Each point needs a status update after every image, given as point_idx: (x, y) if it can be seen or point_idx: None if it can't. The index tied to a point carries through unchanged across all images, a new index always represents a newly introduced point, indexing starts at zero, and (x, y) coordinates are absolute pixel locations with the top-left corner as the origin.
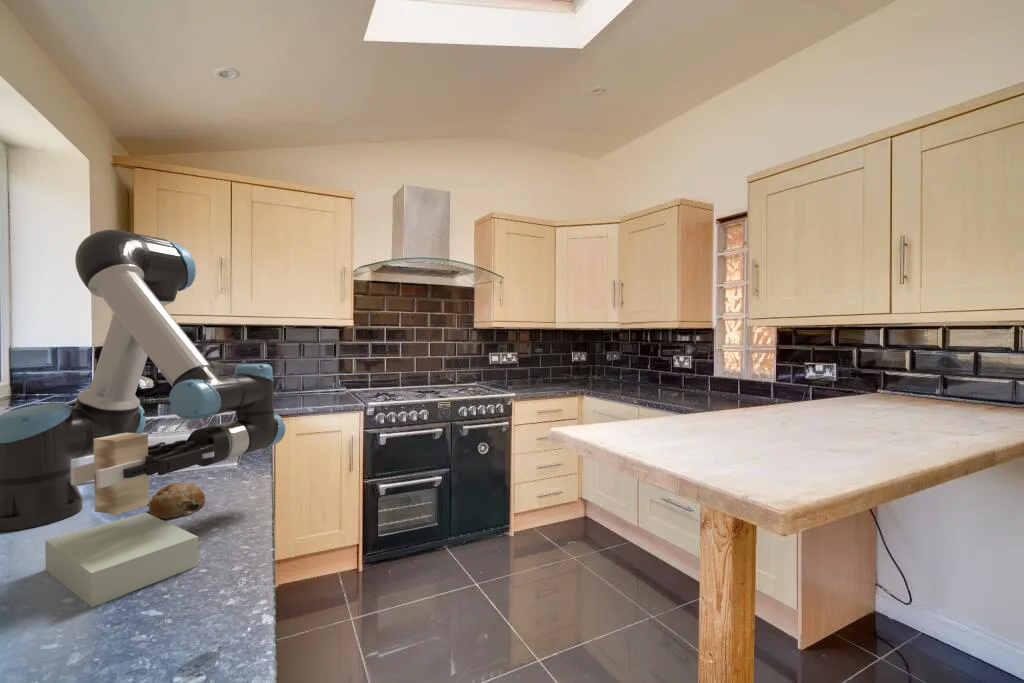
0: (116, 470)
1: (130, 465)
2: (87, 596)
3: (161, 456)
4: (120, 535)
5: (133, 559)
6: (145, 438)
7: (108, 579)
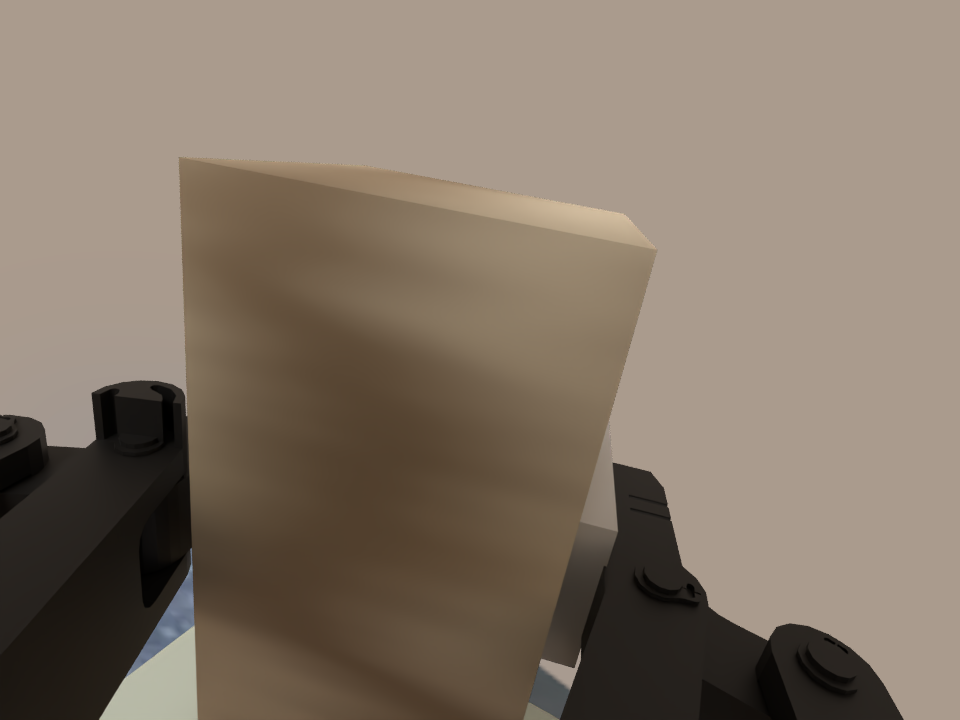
0: None
1: None
2: None
3: (10, 545)
4: None
5: (174, 641)
6: (203, 216)
7: None
